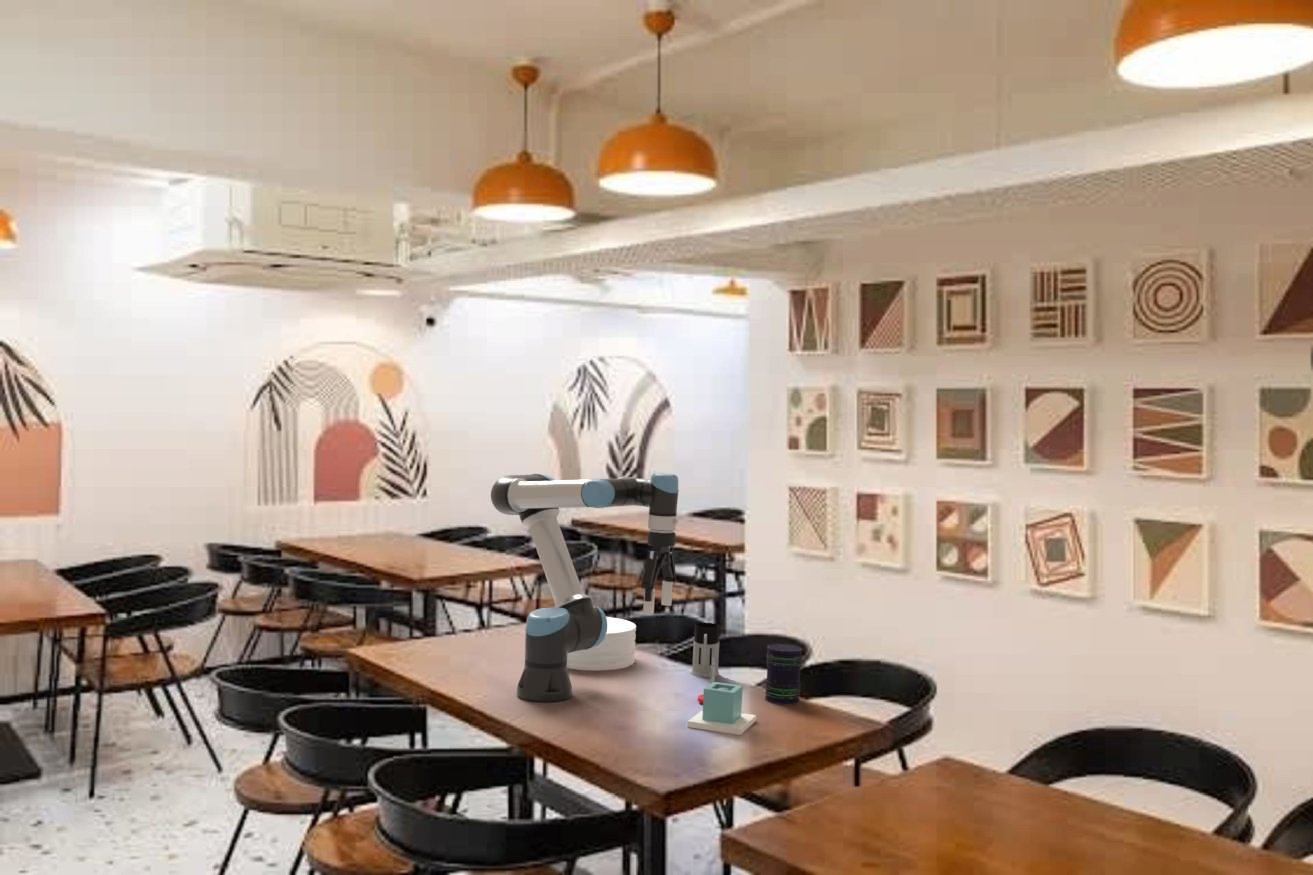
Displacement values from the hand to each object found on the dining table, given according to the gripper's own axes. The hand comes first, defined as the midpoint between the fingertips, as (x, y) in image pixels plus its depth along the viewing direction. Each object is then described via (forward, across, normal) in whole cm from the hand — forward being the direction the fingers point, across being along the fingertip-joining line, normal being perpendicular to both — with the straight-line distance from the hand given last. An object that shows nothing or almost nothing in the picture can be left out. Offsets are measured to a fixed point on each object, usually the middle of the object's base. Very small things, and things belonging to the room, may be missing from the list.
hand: (657, 609), depth 291 cm
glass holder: (+27, +39, -2) cm, 47 cm away
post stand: (+26, -7, -22) cm, 35 cm away
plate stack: (+27, +40, +36) cm, 61 cm away
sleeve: (+24, -7, -22) cm, 34 cm away
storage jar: (+26, +24, -30) cm, 47 cm away
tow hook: (+26, +13, -13) cm, 32 cm away
